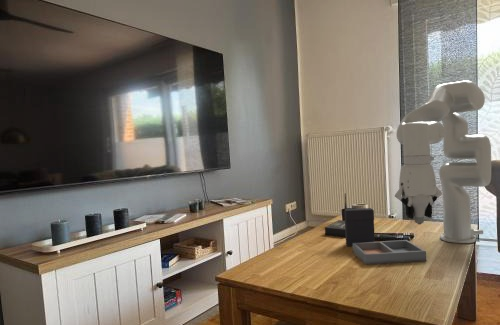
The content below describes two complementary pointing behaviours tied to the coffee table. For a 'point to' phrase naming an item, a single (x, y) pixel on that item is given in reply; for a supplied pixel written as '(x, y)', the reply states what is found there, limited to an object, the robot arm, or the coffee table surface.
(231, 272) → the coffee table surface
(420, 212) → the lightbulb
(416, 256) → the sorting tray
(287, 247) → the coffee table surface
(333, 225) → the wireless controller
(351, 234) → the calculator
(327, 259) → the coffee table surface
